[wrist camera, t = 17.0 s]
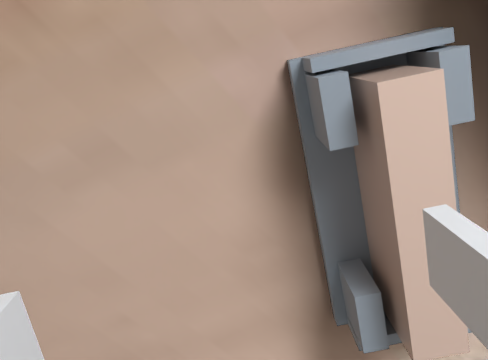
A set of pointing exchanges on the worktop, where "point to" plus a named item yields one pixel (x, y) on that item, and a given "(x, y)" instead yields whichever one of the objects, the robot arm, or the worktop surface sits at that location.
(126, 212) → the worktop surface
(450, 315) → the tan rectangular block
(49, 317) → the worktop surface
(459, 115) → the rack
